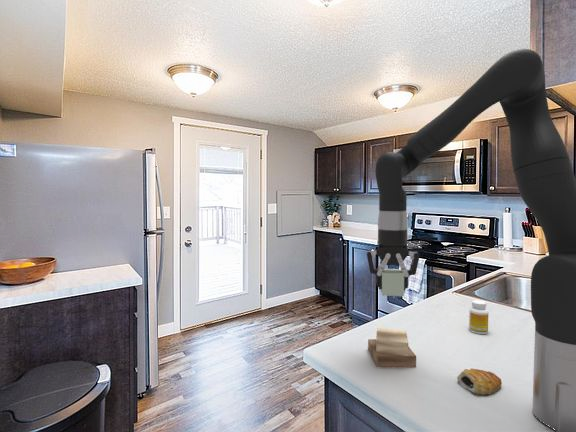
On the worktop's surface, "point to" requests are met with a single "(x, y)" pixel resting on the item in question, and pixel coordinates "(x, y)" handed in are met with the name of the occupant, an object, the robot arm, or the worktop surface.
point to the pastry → (479, 381)
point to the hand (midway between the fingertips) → (392, 288)
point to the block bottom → (391, 357)
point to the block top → (392, 342)
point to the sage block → (392, 282)
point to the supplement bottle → (478, 317)
